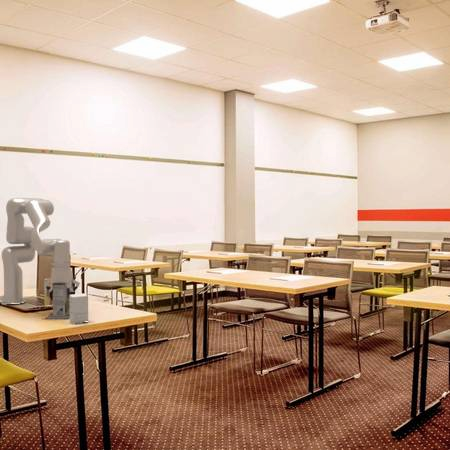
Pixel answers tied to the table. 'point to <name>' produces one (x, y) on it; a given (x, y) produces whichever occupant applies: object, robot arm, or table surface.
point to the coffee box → (61, 299)
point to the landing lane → (50, 316)
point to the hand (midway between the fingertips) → (62, 299)
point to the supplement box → (78, 308)
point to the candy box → (47, 294)
